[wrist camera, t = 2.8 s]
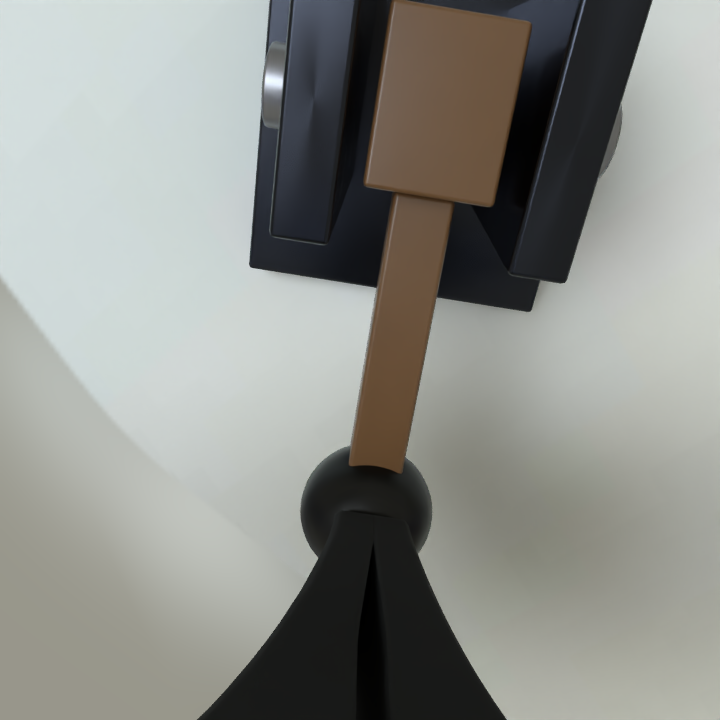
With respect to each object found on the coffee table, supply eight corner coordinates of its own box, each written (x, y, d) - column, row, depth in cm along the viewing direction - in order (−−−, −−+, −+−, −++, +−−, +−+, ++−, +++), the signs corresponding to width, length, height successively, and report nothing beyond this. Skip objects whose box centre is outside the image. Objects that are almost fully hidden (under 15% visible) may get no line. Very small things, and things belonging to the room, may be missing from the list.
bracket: (523, 299, 19) (602, 441, 12) (256, 256, 19) (173, 374, 11) (636, -108, 14) (869, -272, 7) (291, -169, 14) (192, -396, 7)
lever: (415, 538, 15) (423, 618, 13) (300, 521, 15) (284, 597, 12) (517, 53, 12) (557, 20, 9) (373, 28, 12) (371, -11, 9)
